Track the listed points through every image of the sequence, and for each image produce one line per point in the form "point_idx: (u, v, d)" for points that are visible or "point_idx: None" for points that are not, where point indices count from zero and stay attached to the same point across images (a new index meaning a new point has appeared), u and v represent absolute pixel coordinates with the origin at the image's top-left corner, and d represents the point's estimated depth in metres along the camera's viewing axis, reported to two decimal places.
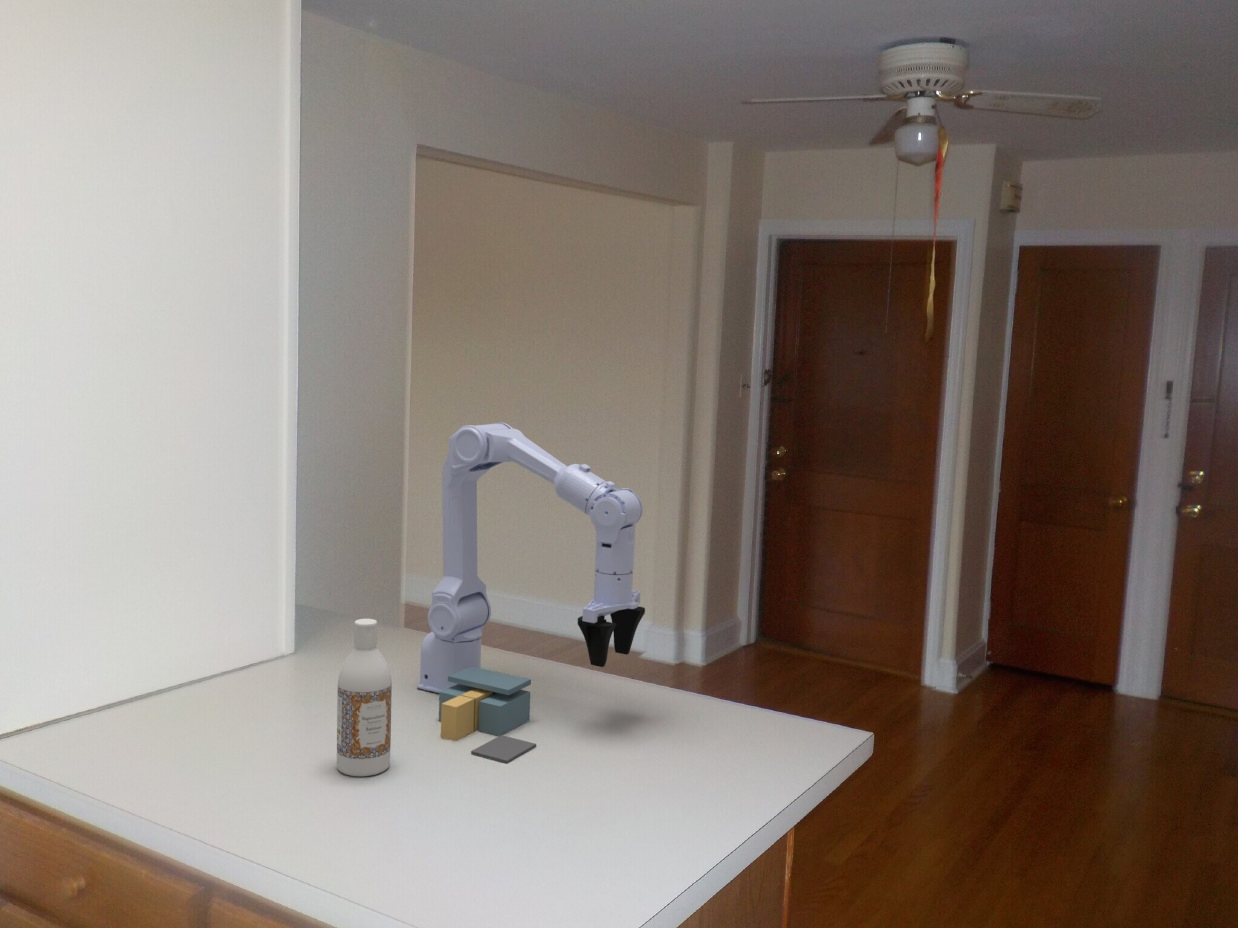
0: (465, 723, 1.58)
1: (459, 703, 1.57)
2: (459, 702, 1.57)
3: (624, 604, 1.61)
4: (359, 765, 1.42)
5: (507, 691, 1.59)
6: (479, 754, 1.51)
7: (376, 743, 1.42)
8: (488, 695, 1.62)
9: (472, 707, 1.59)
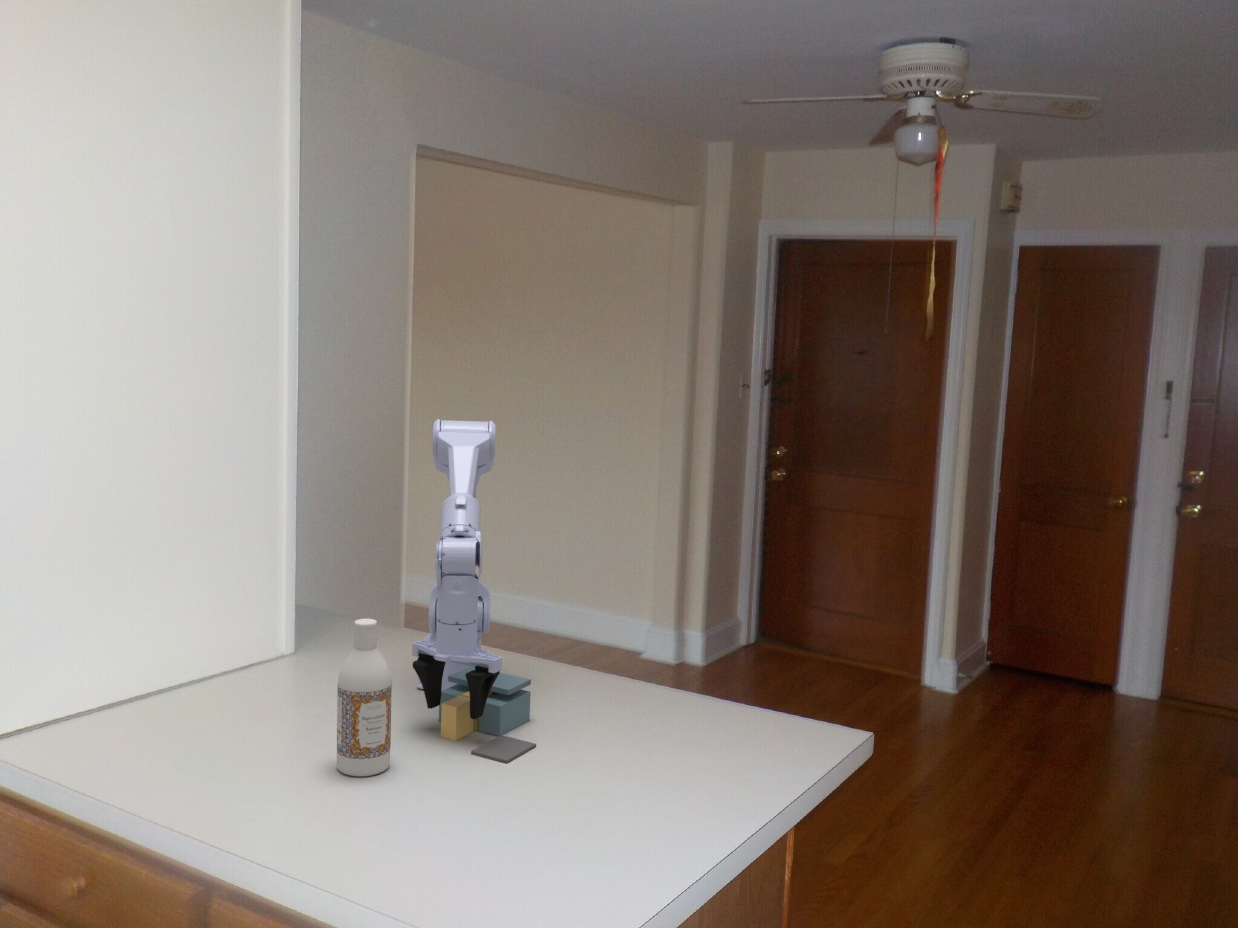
0: (465, 723, 1.58)
1: (459, 703, 1.57)
2: (459, 702, 1.57)
3: (437, 653, 1.54)
4: (359, 765, 1.42)
5: (507, 691, 1.59)
6: (479, 754, 1.51)
7: (376, 743, 1.42)
8: (488, 695, 1.62)
9: None
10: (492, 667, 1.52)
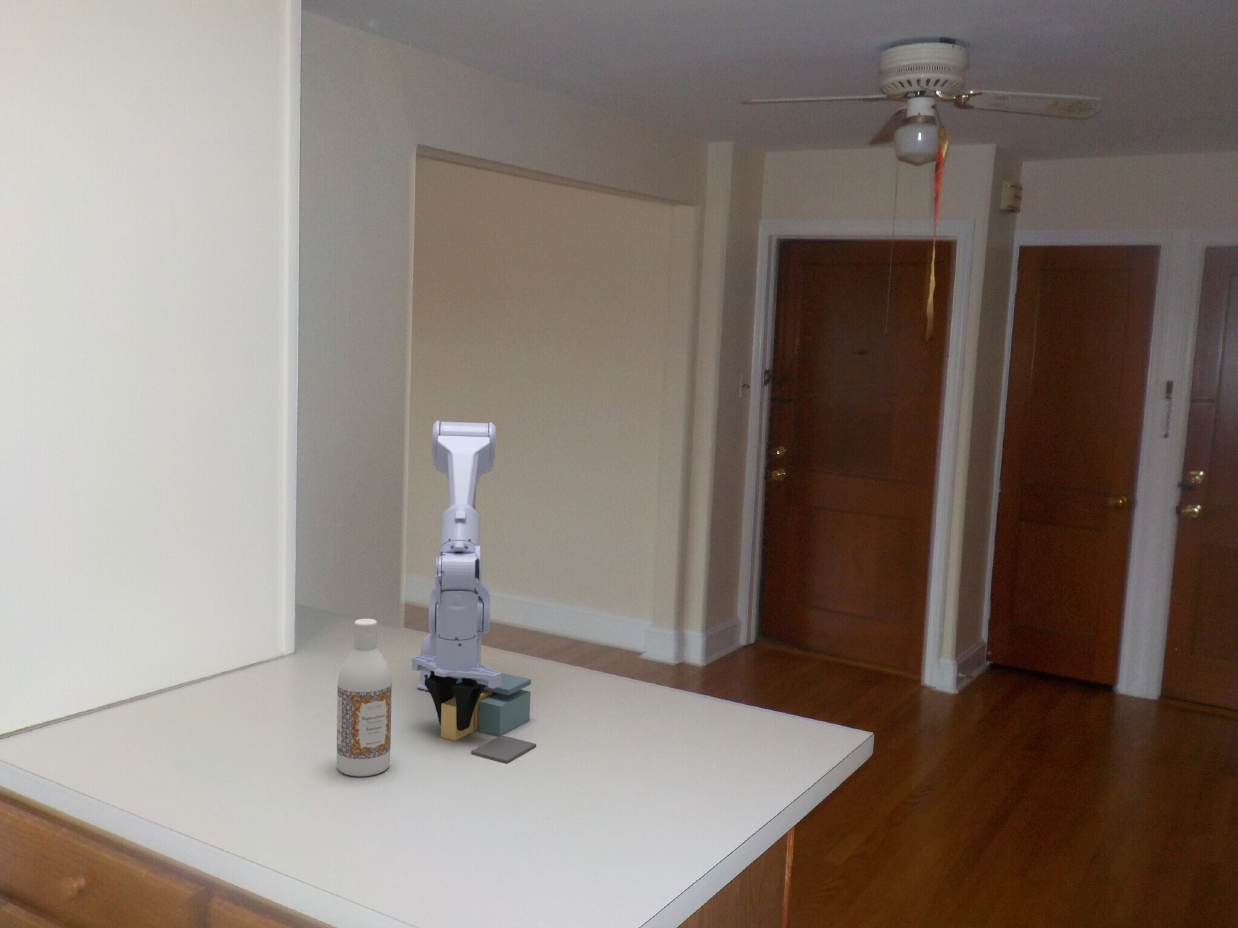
0: None
1: None
2: None
3: (437, 668, 1.55)
4: (359, 765, 1.42)
5: (507, 691, 1.59)
6: (479, 754, 1.51)
7: (376, 744, 1.42)
8: (488, 695, 1.62)
9: None
10: (492, 682, 1.53)
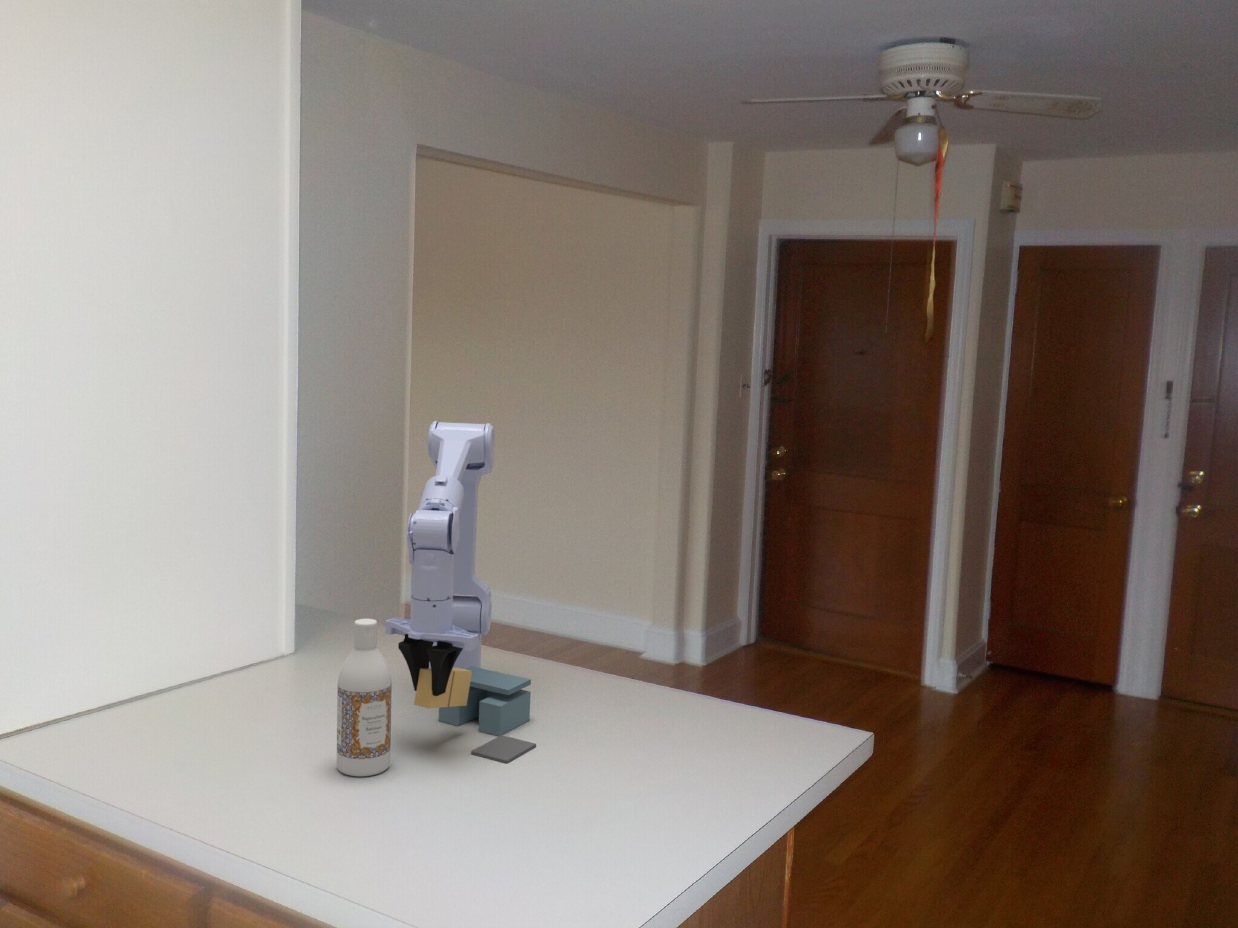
0: (441, 694, 1.52)
1: None
2: None
3: (411, 630, 1.49)
4: (359, 765, 1.42)
5: (507, 691, 1.59)
6: (479, 754, 1.51)
7: (376, 743, 1.42)
8: (467, 674, 1.57)
9: (450, 679, 1.53)
10: (467, 645, 1.47)
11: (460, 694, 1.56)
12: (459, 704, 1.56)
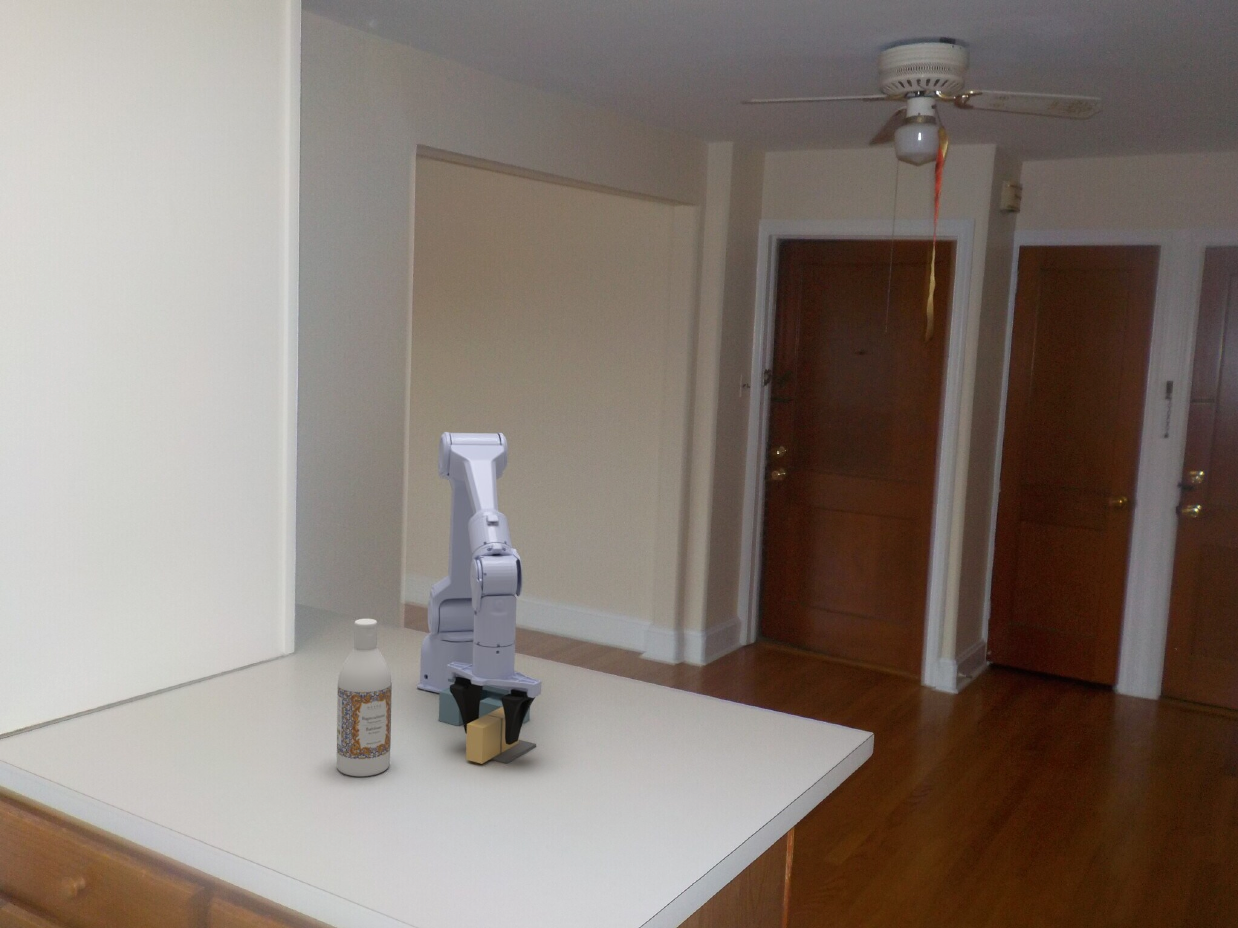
0: (492, 745, 1.49)
1: (486, 723, 1.48)
2: (485, 722, 1.49)
3: (474, 676, 1.48)
4: (359, 765, 1.42)
5: (507, 691, 1.59)
6: None
7: (376, 744, 1.42)
8: None
9: (499, 727, 1.50)
10: (531, 691, 1.46)
11: None
12: (511, 745, 1.53)
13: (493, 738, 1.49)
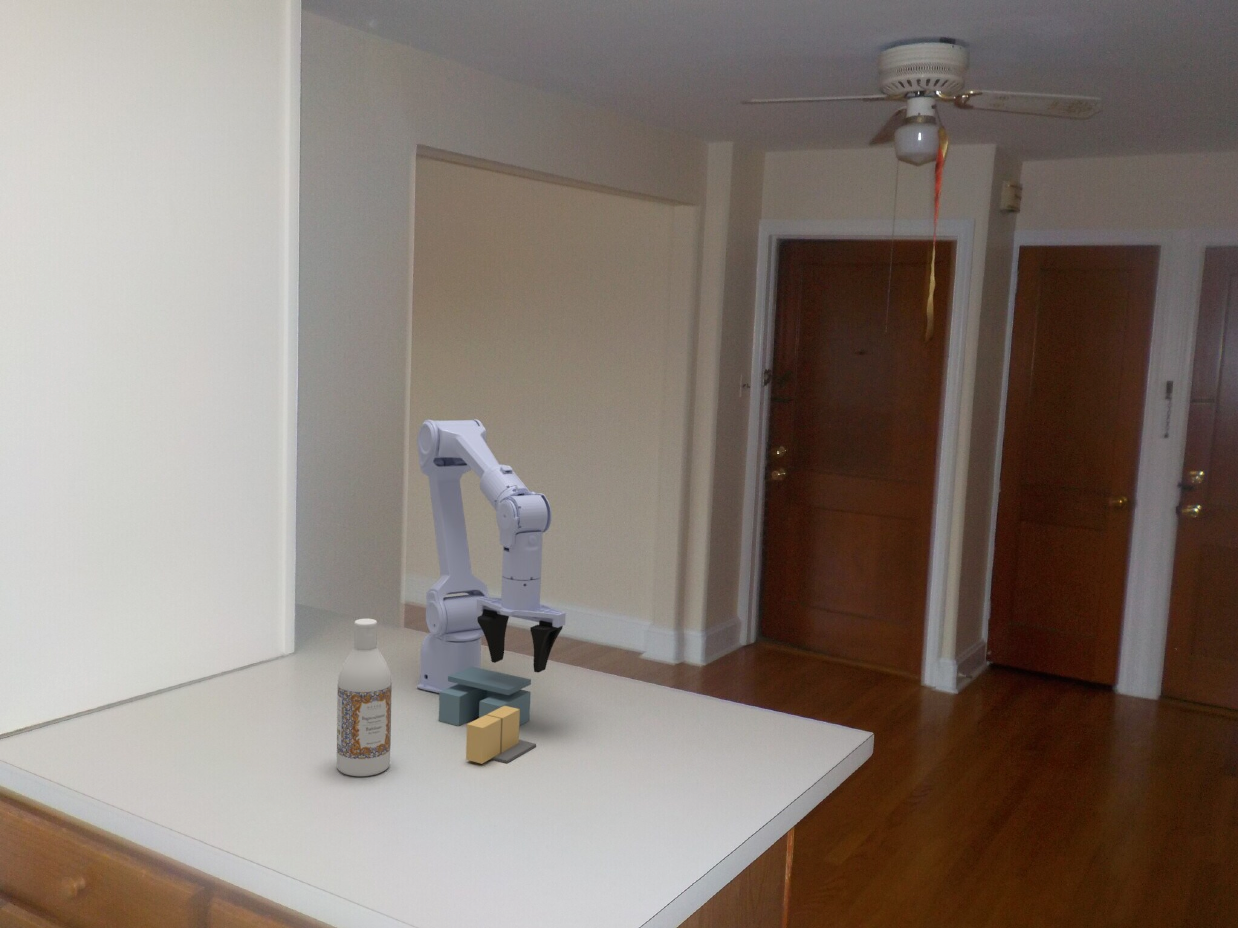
0: (492, 745, 1.49)
1: (486, 723, 1.48)
2: (485, 722, 1.49)
3: (502, 607, 1.59)
4: (359, 765, 1.42)
5: (507, 691, 1.59)
6: None
7: (376, 743, 1.42)
8: (515, 714, 1.53)
9: (499, 727, 1.50)
10: (556, 621, 1.57)
11: (511, 736, 1.53)
12: (511, 745, 1.53)
13: (493, 738, 1.49)
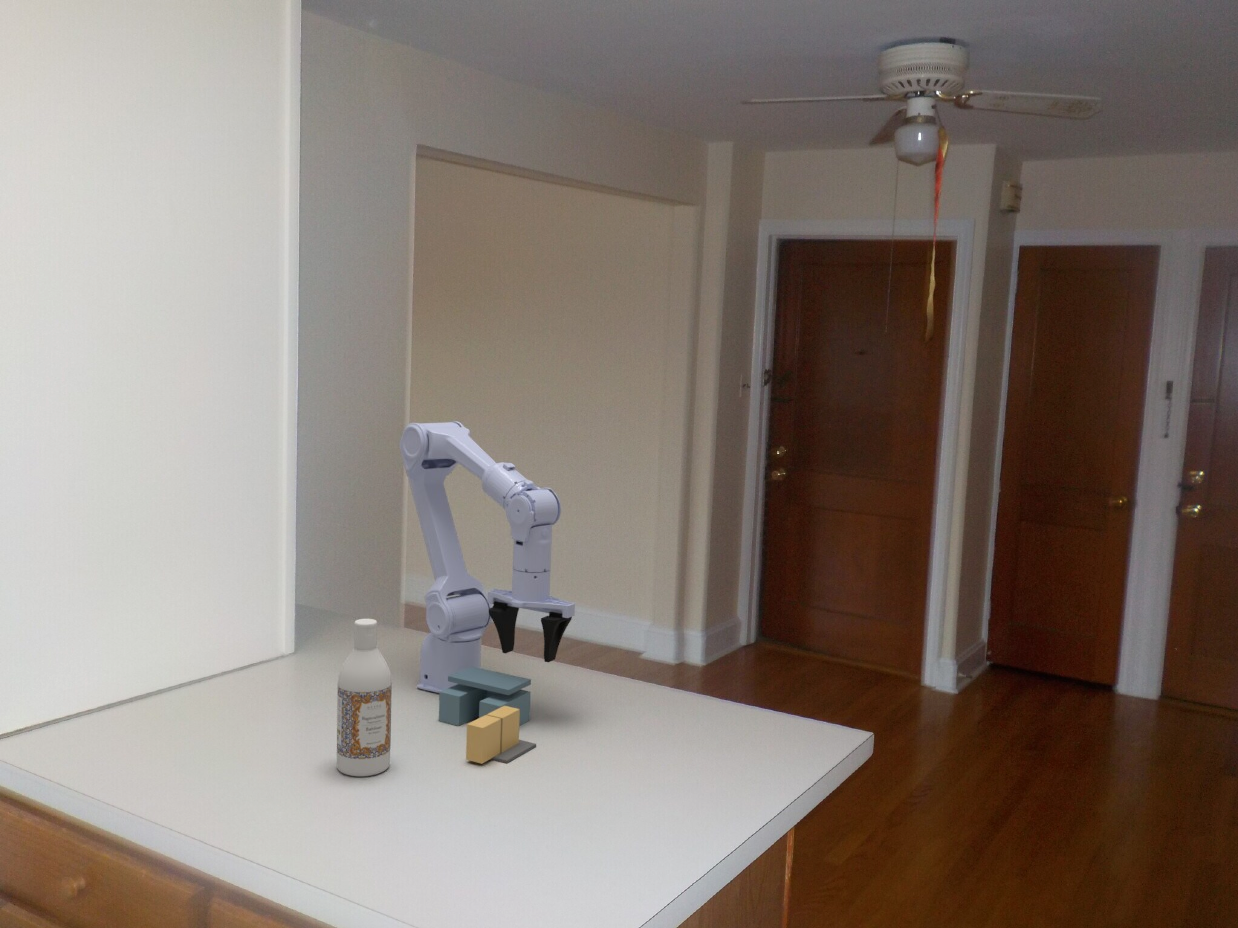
0: (492, 745, 1.49)
1: (486, 723, 1.48)
2: (485, 722, 1.49)
3: (513, 599, 1.63)
4: (359, 765, 1.42)
5: (507, 691, 1.59)
6: None
7: (376, 744, 1.42)
8: (515, 714, 1.53)
9: (499, 727, 1.50)
10: (566, 612, 1.61)
11: (511, 736, 1.53)
12: (511, 745, 1.53)
13: (493, 738, 1.49)
